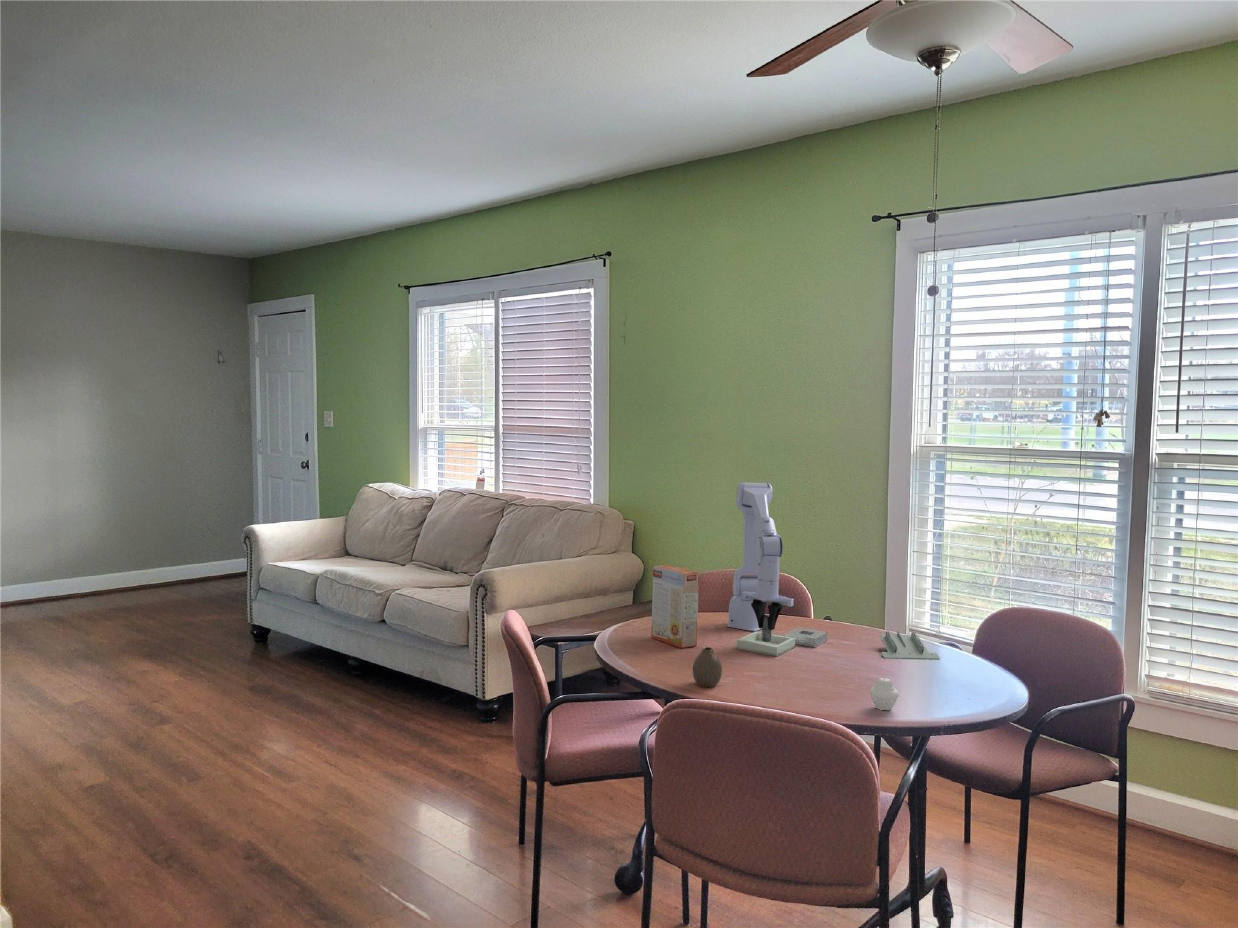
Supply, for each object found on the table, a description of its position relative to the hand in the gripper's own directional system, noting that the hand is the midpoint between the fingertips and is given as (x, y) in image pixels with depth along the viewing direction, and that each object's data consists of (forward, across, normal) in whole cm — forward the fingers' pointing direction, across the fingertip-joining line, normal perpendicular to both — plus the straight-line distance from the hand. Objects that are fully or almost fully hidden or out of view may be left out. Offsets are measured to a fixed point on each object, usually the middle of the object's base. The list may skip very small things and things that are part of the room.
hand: (766, 628), depth 240 cm
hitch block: (+6, +6, +14) cm, 16 cm away
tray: (+6, 0, 0) cm, 6 cm away
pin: (+3, 0, 0) cm, 3 cm away
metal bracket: (+6, +32, +21) cm, 38 cm away
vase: (+6, +3, -39) cm, 40 cm away
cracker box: (+6, -23, -11) cm, 26 cm away
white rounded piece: (+6, +42, -29) cm, 51 cm away
